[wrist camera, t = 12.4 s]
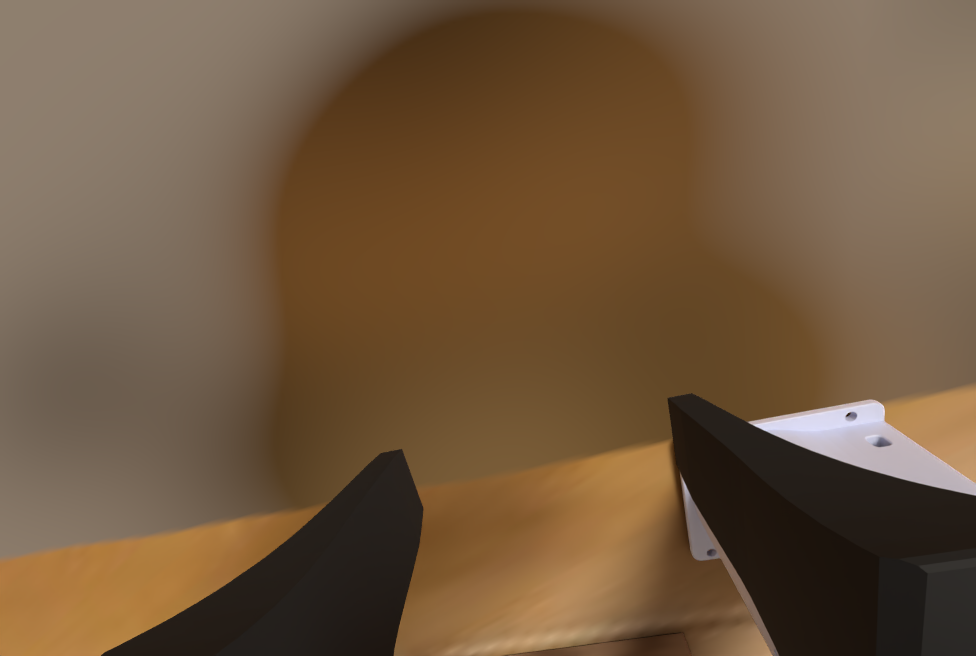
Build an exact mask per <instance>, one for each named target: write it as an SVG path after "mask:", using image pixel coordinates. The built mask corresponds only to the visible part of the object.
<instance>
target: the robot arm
mask: <svg viewBox="0 0 976 656" xmlns="http://www.w3.org/2000/svg"><path fill="white" fill-rule="evenodd" d="M668 405H669V413H670V420H671V427H672V434H673V442H674V449H675V456H676V464H677V466H678V469H679V471H680V478H681V485H682V493H683V500H684V507H685V515H686V522H687V530H688V537H689V544H690V551H691V553H692V555H693V558H695V559H696V560H699V561H704V560H711V559H717V558H721V560H722V562H723V564H724V566H725V567H726V569H727V571H728V573H729V575H730V577H731V579H732V580H733V582H734V584H735V586H736V588H737V590H738V592H739V593H740V595H741V597H742V599H743V601H744V603H745V605H746V607H747V608H748V610H749V612H750V614H751V616H752V618H753V620H754V621H755V623H756V625H757V627H758V629H759V631H760V633H761V634H762V636H763V638H764V640H765V642H766V644H767V646H768V647H769V649H770V651H771V653H772V655H773V656H976V484H975V483H974V482H972V481H971V480H970V479H968V478H967V477H965V476H964V475H962V474H961V473H959V472H958V471H956V470H955V469H953V468H952V467H950V466H949V465H948V464H946V463H945V462H943V461H942V460H940V459H939V458H937V457H936V456H934V455H933V454H931V453H930V452H928V451H927V450H926V449H924V448H923V447H921V446H920V445H918V444H917V443H915V442H914V441H912V440H911V439H909V438H908V437H907V436H905V435H904V434H902V433H901V432H899V431H898V430H896V429H895V428H893V427H892V426H890V425H889V424H887V423H886V422H884V415H885V409H884V406H883V405H882V404H881V403H879V402H877V401H875V400H865V401H860V402H854V403H848V404H843V405H837V406H832V407H827V408H821V409H815V410H810V411H805V412H799V413H794V414H788V415H782V416H777V417H771V418H766V419H760V420H755V421H749V422H746V421H744V420H742V419H740V418H738V417H736V416H734V415H732V414H730V413H728V412H726V411H725V410H723V409H721V408H719V407H717V406H715V405H713V404H712V403H710V402H708V401H706V400H704V399H702V398H700V397H698V396H696V395H694V394H692V393H691V394H686V395H681V396H676V397H670V398H668ZM850 412H851V414H850V415H849V416H847V417H846V415H847V414H848V413H850ZM422 517H423V506H422V503H421V500H420V498H419V495H418V492H417V489H416V487H415V484H414V481H413V478H412V476H411V473H410V470H409V467H408V465H407V462H406V459H405V456H404V454H403V451H402V449H400V450H395V451H389V452H384V453H381V454H380V455H378V456H377V457H376V458H375V459H374V460H373V461H371V462H370V463H369V464H368V465H367V466H366V467H365V468H364V469H363V470H362V471H361V472H360V473H359V474H358V475H357V476H356V477H355V478H354V479H353V480H352V481H351V482H350V483H349V484H348V485H347V486H346V487H345V488H344V489H343V490H342V491H341V492H340V493H339V494H338V495H337V496H336V497H335V498H334V499H333V500H332V501H331V502H330V503H329V504H327V505H326V506H325V507H324V508H323V509H322V510H321V511H320V512H319V513H318V514H317V515H315V516H314V517H313V518H312V519H311V520H310V521H309V522H308V523H307V524H306V525H305V526H303V527H302V528H301V529H300V530H299V531H298V532H296V533H295V534H294V535H293V536H292V537H290V538H289V539H288V540H287V541H286V542H284V543H283V544H282V545H281V546H279V547H278V548H277V549H275V550H274V551H273V552H272V553H270V554H269V555H268V556H266V557H265V558H264V559H262V560H261V561H260V562H258V563H257V564H255V565H254V566H252V567H251V568H250V569H248V570H247V571H245V572H244V573H242V574H241V575H239V576H238V577H236V578H235V579H234V580H232V581H231V582H229V583H228V584H226V585H225V586H223V587H222V588H220V589H219V590H217V591H216V592H214V593H212V594H211V595H209V596H207V597H206V598H204V599H203V600H201V601H199V602H198V603H196V604H194V605H193V606H191V607H189V608H187V609H186V610H184V611H182V612H181V613H179V614H177V615H176V616H174V617H172V618H170V619H168V620H167V621H165V622H163V623H161V624H159V625H157V626H155V627H153V628H152V629H150V630H148V631H146V632H144V633H142V634H140V635H138V636H136V637H134V638H132V639H130V640H128V641H127V642H125V643H123V644H121V645H119V646H117V647H115V648H113V649H111V650H109V651H107V652H105V653H103V654H102V655H101V656H393V655H394V648H395V643H396V638H397V633H398V628H399V624H400V620H401V616H402V612H403V608H404V604H405V600H406V596H407V592H408V588H409V584H410V581H411V577H412V573H413V569H414V564H415V560H416V556H417V552H418V548H419V543H420V536H421V528H422ZM710 549H712V550H710ZM708 550H710V551H708Z"/></svg>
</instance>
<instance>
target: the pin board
mask: <svg viewBox="0 0 976 656" xmlns="http://www.w3.org/2000/svg"><path fill="white" fill-rule="evenodd" d="M507 656H691V653H690V650H689V648H688V645H687V642H686V639H685V637H684V634H683V633H676V634H669V635H661V636H653V637H646V638H638V639H630V640H622V641H615V642H607V643H599V644H592V645H584V646H576V647H569V648H561V649H553V650H546V651H538V652H530V653H522V654H515V655H507Z"/></svg>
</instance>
